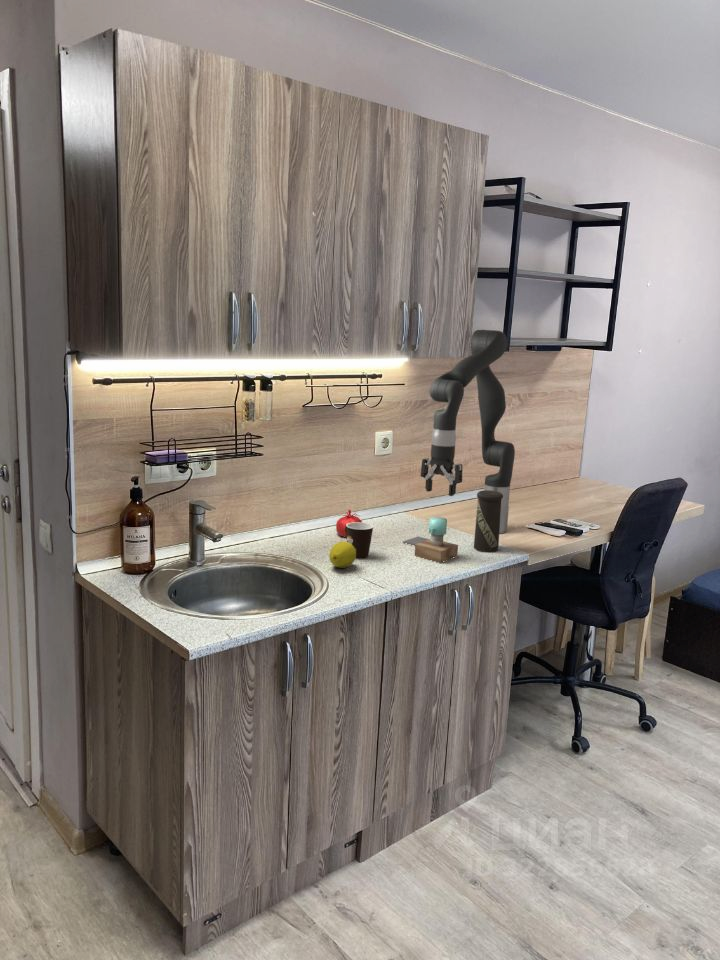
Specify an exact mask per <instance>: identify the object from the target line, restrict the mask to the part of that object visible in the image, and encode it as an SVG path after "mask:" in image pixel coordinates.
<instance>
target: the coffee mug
mask: <svg viewBox="0 0 720 960" xmlns="http://www.w3.org/2000/svg"><path fill="white" fill-rule="evenodd" d="M362 522H363V521H362ZM362 522H353V523H348V524H347V525H346V526H345V533H346V536H347V538H346V542H349V543H350V544H352V545H353V546H354V548H355V550H356V559H355V560H357V559H358V560H362V559H363V560H364V559H368V557H369V555H370V548H371V542H372V536H373V530H374V525H373V524H371V523H368V522H363V523H362Z"/></svg>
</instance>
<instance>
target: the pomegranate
mask: <svg viewBox="0 0 720 960" xmlns="http://www.w3.org/2000/svg"><path fill="white" fill-rule="evenodd" d="M339 516H341V514H339V515H338V517H339ZM353 522H362V523H364V522H363V521H362V520H361V519H360V515H358V514H357V513H353V514H352V510H351V509H348V511H347V512H345V514H342V516H341V517H340V518H339V519H338V520H337V521H336V522H335V523H336V524H335V530H336V533H337V535H339V536H341V537H344V538H345V539H347V536H346V533H345V526H346V525H347V524H348V523H353Z"/></svg>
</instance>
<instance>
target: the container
mask: <svg viewBox="0 0 720 960" xmlns="http://www.w3.org/2000/svg"><path fill="white" fill-rule="evenodd" d="M476 497H477V507H476V517H475V528H474V529H475V531H474V540H473V549H475V551H479V552H483V553H486V552H487V553H493V551H494V552H497V551H498V550H499V545H500V533H499V531H500V513H501V500H502V498H503V495H502V494H501V493H500V492H497V491H490V490H484V489H483V490H480V491H478V492H477V493H476Z"/></svg>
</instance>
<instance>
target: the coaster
mask: <svg viewBox="0 0 720 960" xmlns="http://www.w3.org/2000/svg"><path fill="white" fill-rule="evenodd" d="M430 539H431V538H425V537H421V536H414V537H412V538H410V539H409V538H408V539H406V540H403V541H402V544H405V543H407V544H406V545H408V544H411V545H410V546H412V545H414V546H413V547H415V544H418V543H421V542H424V541H427V540H430Z"/></svg>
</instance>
